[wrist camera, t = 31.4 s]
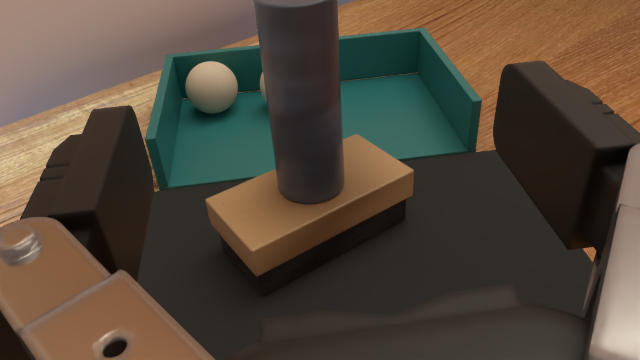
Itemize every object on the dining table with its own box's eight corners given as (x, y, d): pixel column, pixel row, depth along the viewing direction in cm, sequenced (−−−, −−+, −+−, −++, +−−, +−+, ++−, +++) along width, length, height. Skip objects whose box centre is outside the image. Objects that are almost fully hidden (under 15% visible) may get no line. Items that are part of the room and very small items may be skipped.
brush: (261, 303, 22) (213, 40, 15) (215, 248, 24) (159, 6, 18) (412, 220, 25) (424, -22, 19) (357, 180, 28) (352, -44, 22)
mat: (-198, 788, 12) (-213, 785, 12) (50, 212, 28) (46, 204, 28) (829, 596, 14) (840, 588, 13) (505, 155, 30) (506, 147, 29)
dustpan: (475, 154, 30) (482, 100, 28) (160, 192, 29) (144, 139, 27) (401, 41, 43) (402, -1, 41) (182, 65, 42) (173, 22, 40)
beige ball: (173, 71, 35) (183, 121, 35) (191, 55, 32) (203, 108, 32) (219, 68, 36) (229, 116, 36) (240, 53, 34) (251, 104, 34)
